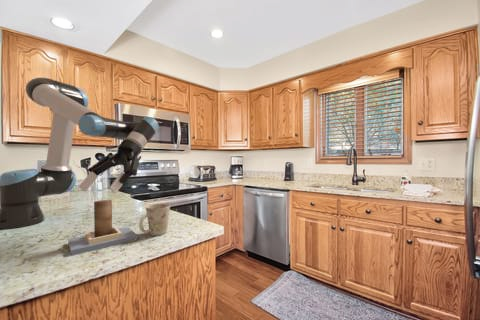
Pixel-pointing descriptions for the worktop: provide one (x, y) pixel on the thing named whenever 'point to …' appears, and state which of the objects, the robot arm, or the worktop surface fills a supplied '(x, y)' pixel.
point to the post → (102, 218)
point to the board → (100, 240)
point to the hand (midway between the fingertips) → (96, 189)
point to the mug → (156, 219)
